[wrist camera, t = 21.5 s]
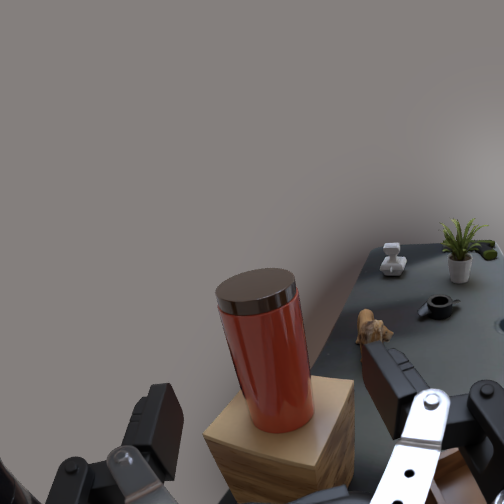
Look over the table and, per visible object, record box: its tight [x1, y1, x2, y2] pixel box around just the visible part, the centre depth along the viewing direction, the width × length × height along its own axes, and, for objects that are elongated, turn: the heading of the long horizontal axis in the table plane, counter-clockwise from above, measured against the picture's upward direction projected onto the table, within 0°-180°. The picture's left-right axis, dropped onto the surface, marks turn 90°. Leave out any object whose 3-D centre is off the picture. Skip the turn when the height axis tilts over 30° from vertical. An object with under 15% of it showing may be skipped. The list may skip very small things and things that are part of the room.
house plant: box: [441, 218, 488, 283], centre depth 68 cm, size 14×14×16 cm
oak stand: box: [204, 386, 355, 504], centre depth 28 cm, size 10×10×16 cm
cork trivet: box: [203, 376, 354, 470], centre depth 25 cm, size 10×10×1 cm
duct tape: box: [417, 294, 461, 320], centre depth 60 cm, size 8×10×3 cm
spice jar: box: [215, 268, 315, 434], centre depth 23 cm, size 6×6×12 cm
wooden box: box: [424, 448, 487, 504], centre depth 19 cm, size 18×14×6 cm
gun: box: [443, 240, 497, 260], centre depth 84 cm, size 2×19×15 cm
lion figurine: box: [356, 309, 393, 362], centre depth 55 cm, size 15×5×9 cm, turn 179°
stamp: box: [380, 243, 407, 276], centre depth 83 cm, size 9×7×8 cm
